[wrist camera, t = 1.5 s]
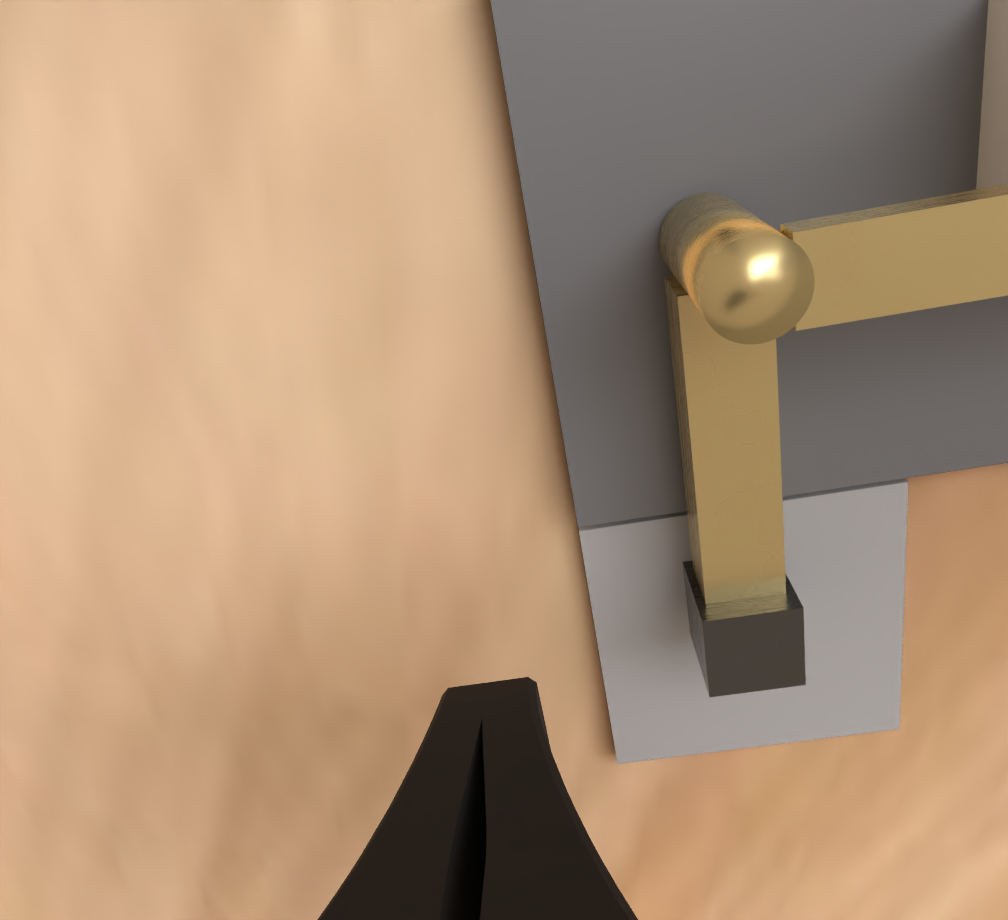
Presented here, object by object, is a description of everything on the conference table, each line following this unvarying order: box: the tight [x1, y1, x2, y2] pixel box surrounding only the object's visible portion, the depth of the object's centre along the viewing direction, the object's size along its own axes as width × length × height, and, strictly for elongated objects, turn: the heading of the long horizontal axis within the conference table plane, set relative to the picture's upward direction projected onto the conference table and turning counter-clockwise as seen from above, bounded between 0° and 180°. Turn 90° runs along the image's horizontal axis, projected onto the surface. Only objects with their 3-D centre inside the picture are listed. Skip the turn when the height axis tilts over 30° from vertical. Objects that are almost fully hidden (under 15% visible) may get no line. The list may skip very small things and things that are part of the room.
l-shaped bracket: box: [659, 184, 1008, 698], centre depth 17 cm, size 10×11×4 cm
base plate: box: [490, 0, 1008, 527], centre depth 17 cm, size 16×12×1 cm
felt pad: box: [578, 478, 908, 764], centre depth 22 cm, size 8×8×1 cm
